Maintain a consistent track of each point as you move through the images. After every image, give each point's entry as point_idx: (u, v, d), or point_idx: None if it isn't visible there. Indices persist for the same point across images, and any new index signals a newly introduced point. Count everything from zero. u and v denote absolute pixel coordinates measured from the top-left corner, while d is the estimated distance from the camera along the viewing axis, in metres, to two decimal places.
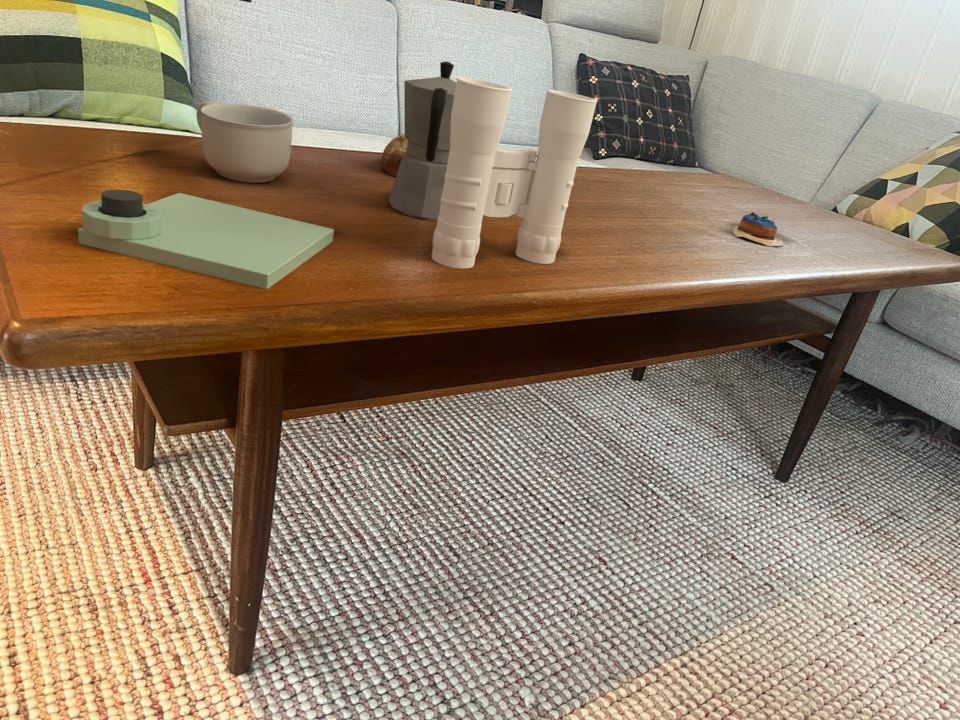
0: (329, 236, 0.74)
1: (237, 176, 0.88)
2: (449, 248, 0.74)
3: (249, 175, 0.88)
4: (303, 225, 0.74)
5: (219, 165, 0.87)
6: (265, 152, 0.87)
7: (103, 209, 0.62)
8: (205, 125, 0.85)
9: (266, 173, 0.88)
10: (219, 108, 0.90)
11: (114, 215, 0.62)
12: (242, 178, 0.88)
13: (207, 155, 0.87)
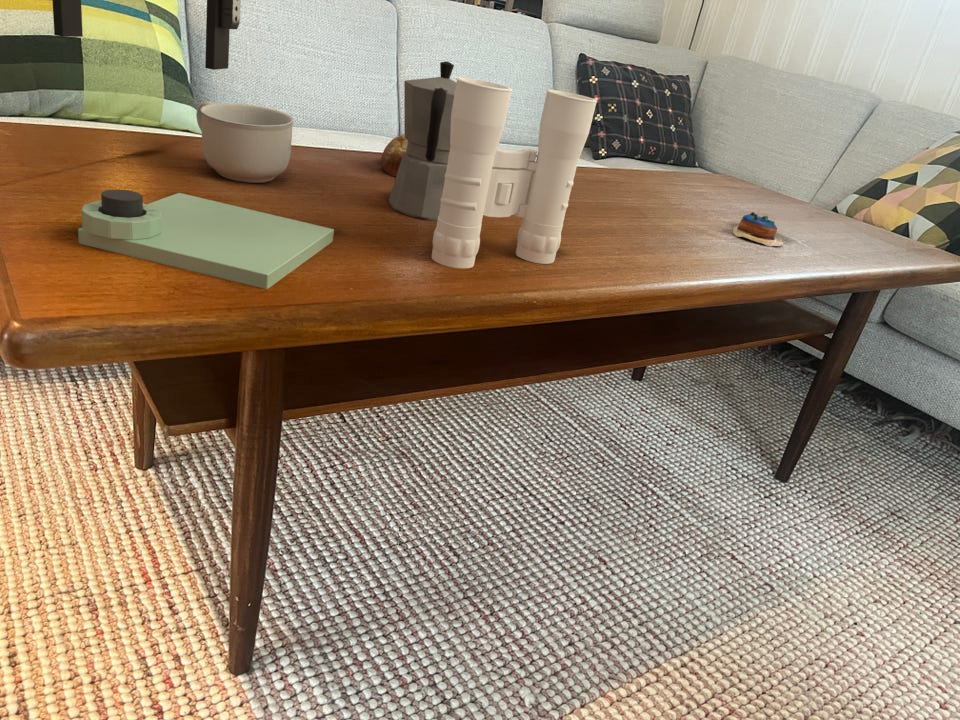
0: (329, 236, 0.74)
1: (237, 176, 0.88)
2: (449, 248, 0.74)
3: (249, 175, 0.88)
4: (303, 225, 0.74)
5: (219, 165, 0.87)
6: (265, 152, 0.87)
7: (103, 209, 0.62)
8: (205, 125, 0.85)
9: (266, 173, 0.88)
10: (219, 108, 0.90)
11: (114, 215, 0.62)
12: (242, 178, 0.88)
13: (207, 155, 0.87)
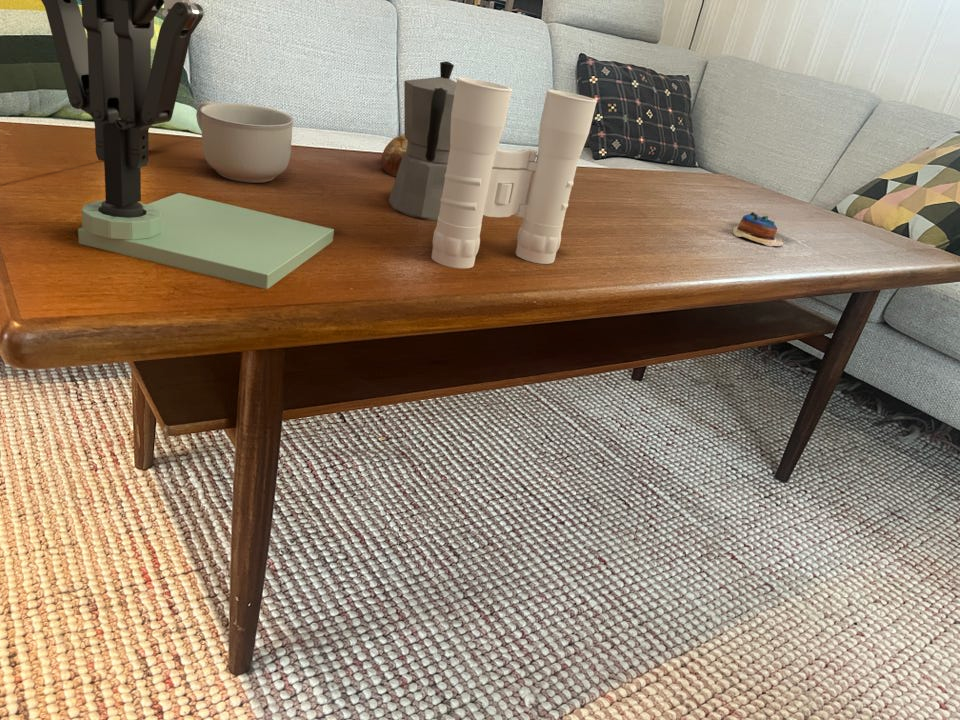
0: (329, 236, 0.74)
1: (237, 176, 0.88)
2: (449, 248, 0.74)
3: (249, 175, 0.88)
4: (303, 225, 0.74)
5: (219, 165, 0.87)
6: (265, 152, 0.87)
7: None
8: (205, 125, 0.85)
9: (266, 173, 0.88)
10: (219, 108, 0.90)
11: None
12: (242, 178, 0.88)
13: (207, 155, 0.87)
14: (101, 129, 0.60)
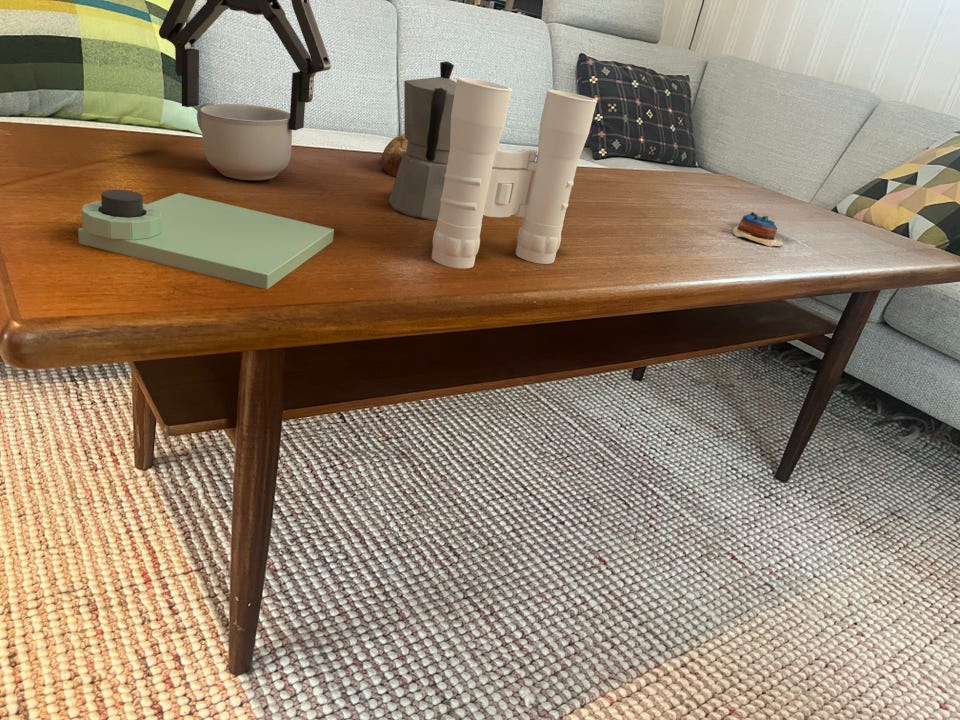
0: (329, 236, 0.74)
1: (238, 174, 0.88)
2: (449, 248, 0.74)
3: (250, 172, 0.88)
4: (303, 225, 0.74)
5: (220, 163, 0.87)
6: (265, 148, 0.87)
7: (103, 209, 0.62)
8: (205, 123, 0.86)
9: (267, 169, 0.88)
10: (219, 109, 0.91)
11: (114, 215, 0.62)
12: (244, 175, 0.88)
13: (208, 154, 0.87)
14: (179, 53, 0.87)
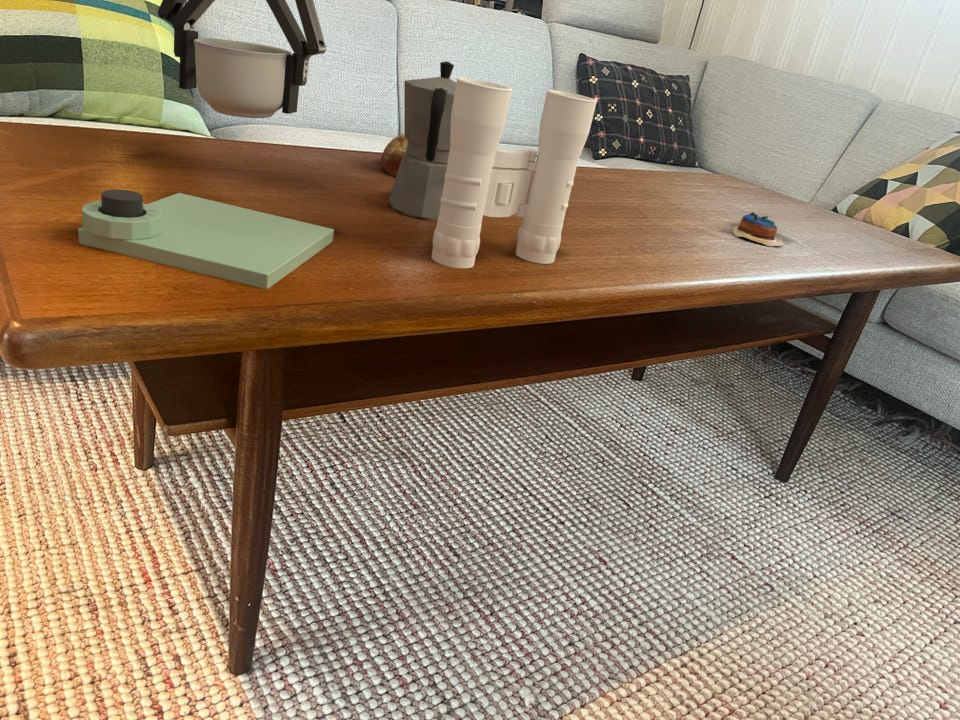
0: (329, 236, 0.74)
1: (228, 109, 0.84)
2: (449, 248, 0.74)
3: (239, 107, 0.84)
4: (303, 225, 0.74)
5: (209, 96, 0.83)
6: (255, 81, 0.82)
7: (103, 209, 0.62)
8: (197, 53, 0.82)
9: (257, 106, 0.84)
10: (219, 44, 0.88)
11: (114, 215, 0.62)
12: (233, 111, 0.84)
13: (199, 86, 0.84)
14: (178, 34, 0.86)
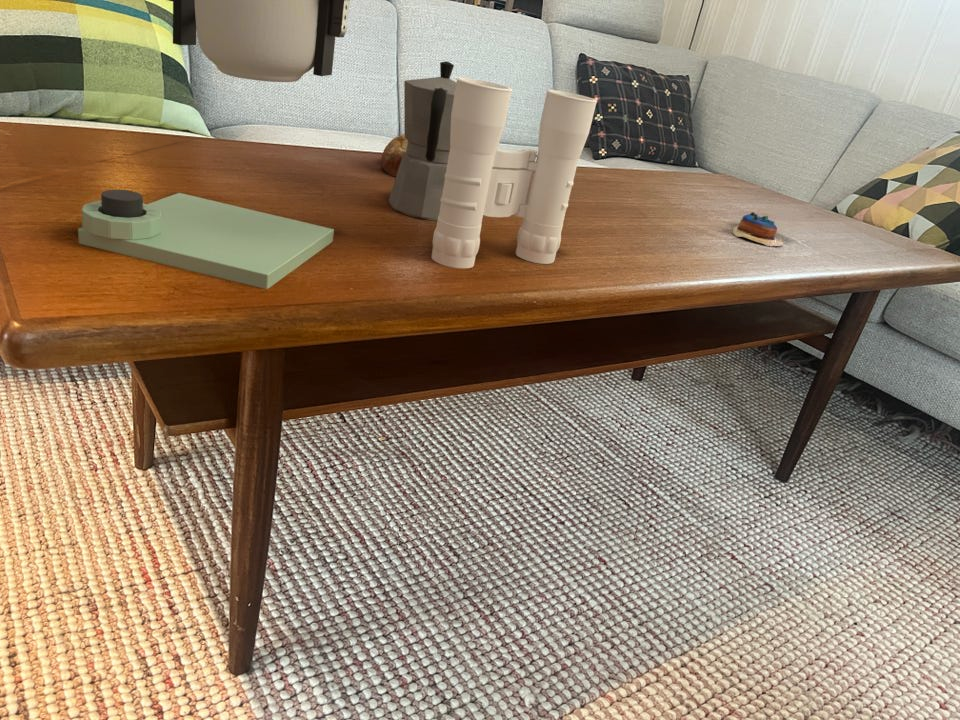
0: (329, 236, 0.74)
1: (240, 69, 0.61)
2: (449, 248, 0.74)
3: (256, 65, 0.61)
4: (303, 225, 0.74)
5: (215, 50, 0.60)
6: (278, 29, 0.60)
7: (103, 209, 0.62)
8: None
9: (281, 64, 0.61)
10: None
11: (114, 215, 0.62)
12: (248, 71, 0.61)
13: (200, 38, 0.61)
14: None
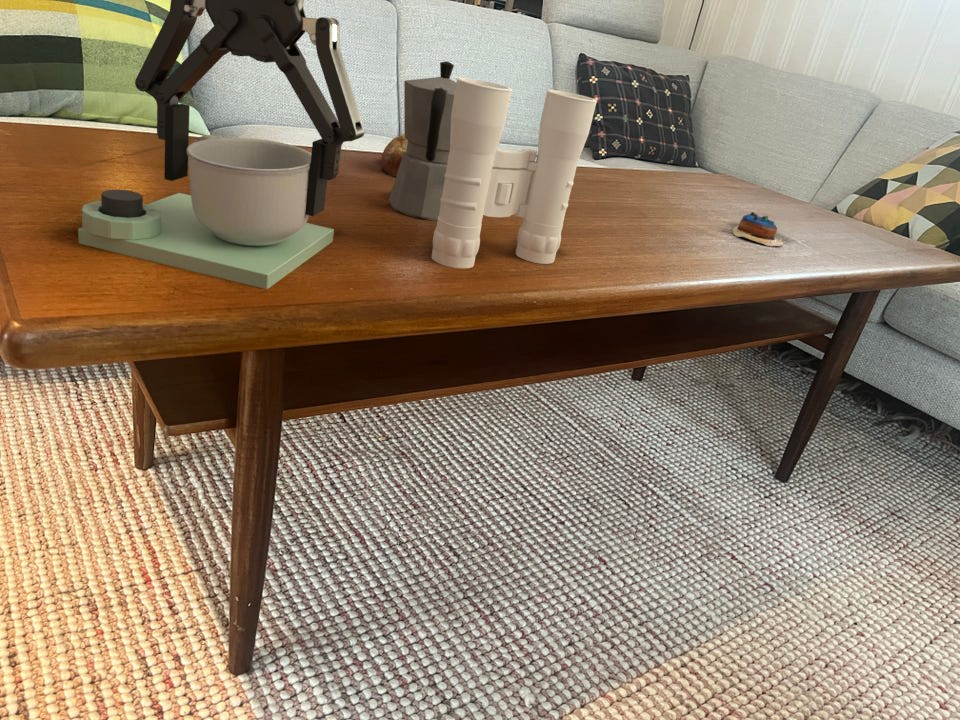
0: (329, 236, 0.74)
1: (233, 238, 0.64)
2: (449, 248, 0.74)
3: (248, 236, 0.63)
4: None
5: (208, 222, 0.63)
6: (268, 206, 0.62)
7: (103, 209, 0.62)
8: (191, 168, 0.62)
9: (271, 234, 0.64)
10: (220, 144, 0.67)
11: (114, 215, 0.62)
12: (240, 240, 0.64)
13: (194, 208, 0.64)
14: (163, 111, 0.65)
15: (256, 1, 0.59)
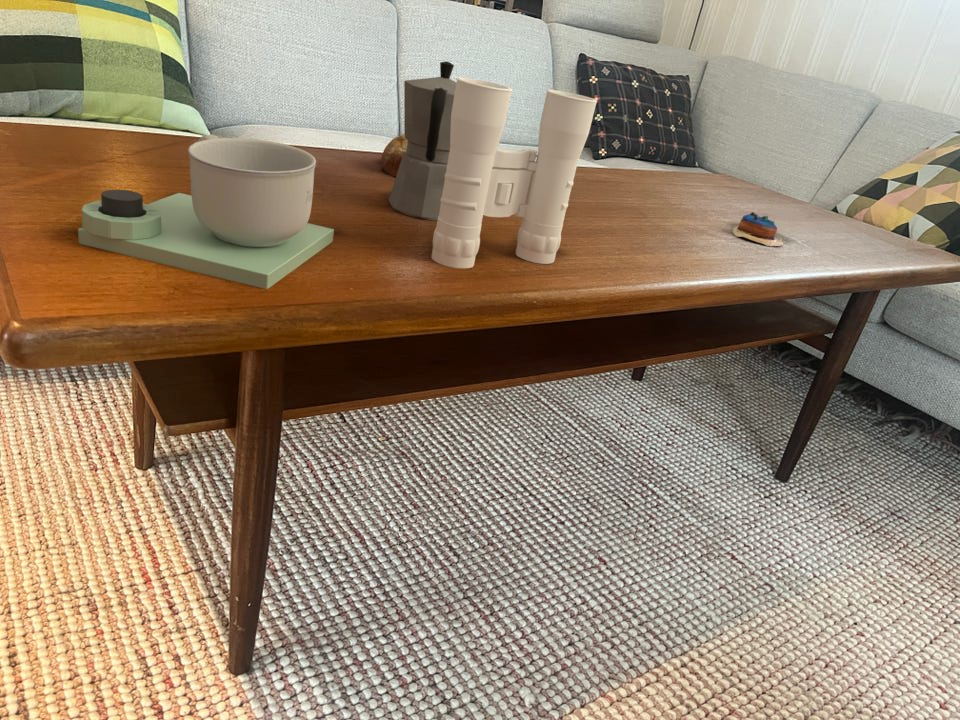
0: (329, 236, 0.74)
1: (233, 239, 0.64)
2: (449, 248, 0.74)
3: (248, 238, 0.64)
4: None
5: (208, 223, 0.63)
6: (269, 208, 0.62)
7: (103, 209, 0.62)
8: (192, 168, 0.62)
9: (272, 235, 0.64)
10: (221, 144, 0.67)
11: (114, 215, 0.62)
12: (240, 241, 0.64)
13: (195, 208, 0.64)
14: None
15: None
